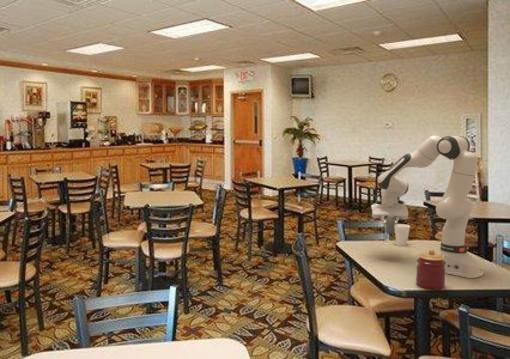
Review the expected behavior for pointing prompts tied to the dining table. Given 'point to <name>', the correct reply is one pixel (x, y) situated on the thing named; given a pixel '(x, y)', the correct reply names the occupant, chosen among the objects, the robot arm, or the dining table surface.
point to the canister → (430, 270)
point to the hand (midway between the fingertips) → (390, 224)
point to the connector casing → (390, 223)
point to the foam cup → (401, 234)
